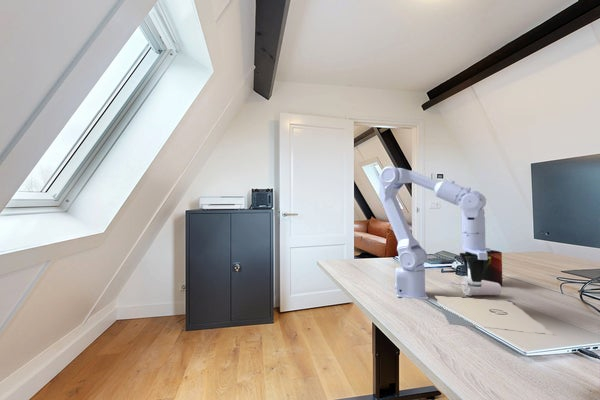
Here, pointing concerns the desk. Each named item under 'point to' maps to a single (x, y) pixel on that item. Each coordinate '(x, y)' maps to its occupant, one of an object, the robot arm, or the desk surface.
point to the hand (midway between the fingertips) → (474, 279)
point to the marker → (470, 283)
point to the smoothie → (485, 289)
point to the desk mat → (457, 318)
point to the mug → (493, 267)
